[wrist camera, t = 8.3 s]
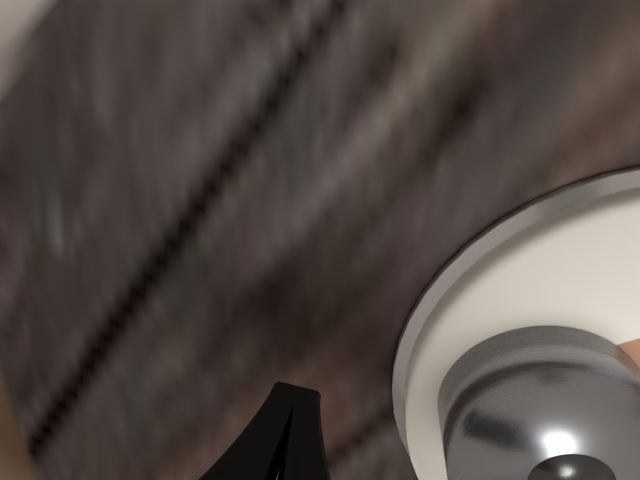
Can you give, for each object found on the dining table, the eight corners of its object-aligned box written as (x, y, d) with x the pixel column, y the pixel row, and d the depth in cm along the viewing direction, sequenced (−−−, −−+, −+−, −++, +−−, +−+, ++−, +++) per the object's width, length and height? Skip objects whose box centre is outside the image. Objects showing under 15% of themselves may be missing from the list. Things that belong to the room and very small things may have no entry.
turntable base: (731, 586, 20) (739, 598, 20) (350, 486, 21) (349, 496, 21) (1101, 235, 13) (1128, 241, 12) (476, 102, 13) (479, 104, 13)
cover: (683, 434, 15) (753, 521, 12) (500, 498, 17) (521, 583, 14) (585, 289, 13) (639, 349, 10) (400, 382, 16) (402, 451, 13)
